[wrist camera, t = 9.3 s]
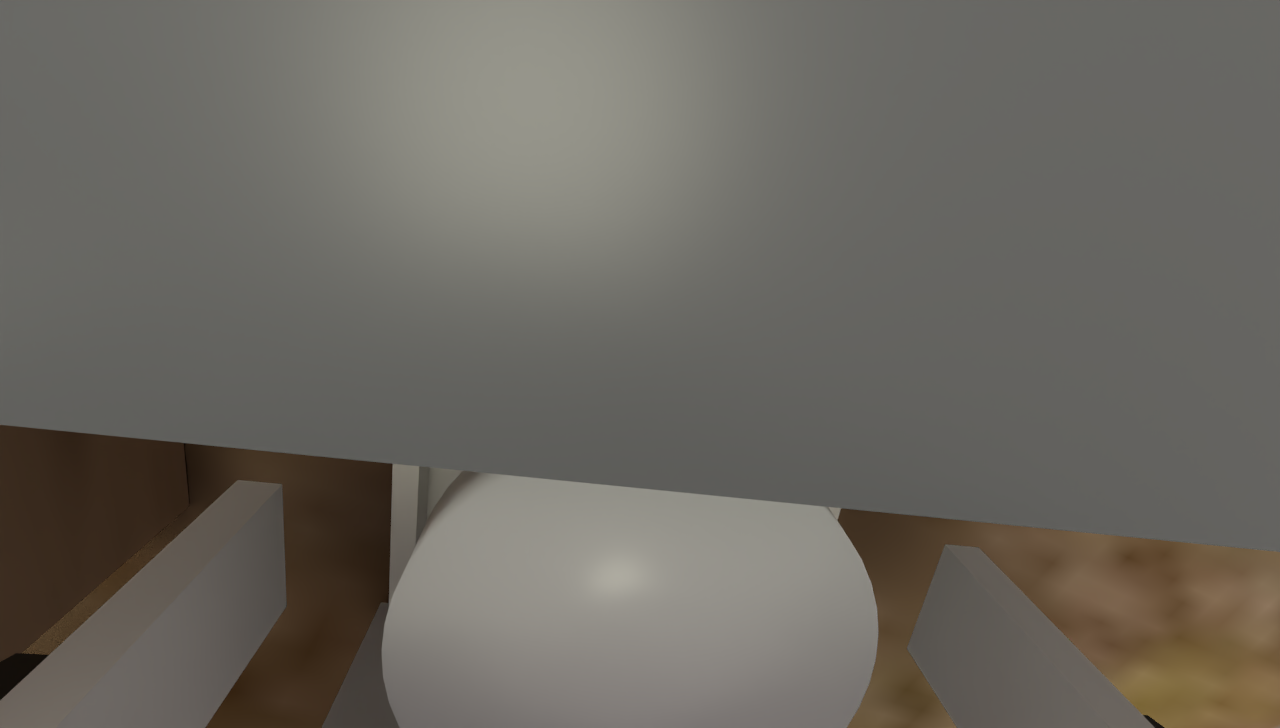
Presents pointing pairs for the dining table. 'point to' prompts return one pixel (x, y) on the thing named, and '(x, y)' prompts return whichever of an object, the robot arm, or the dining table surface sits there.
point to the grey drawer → (361, 705)
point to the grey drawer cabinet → (667, 245)
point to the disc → (626, 611)
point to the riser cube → (75, 518)
